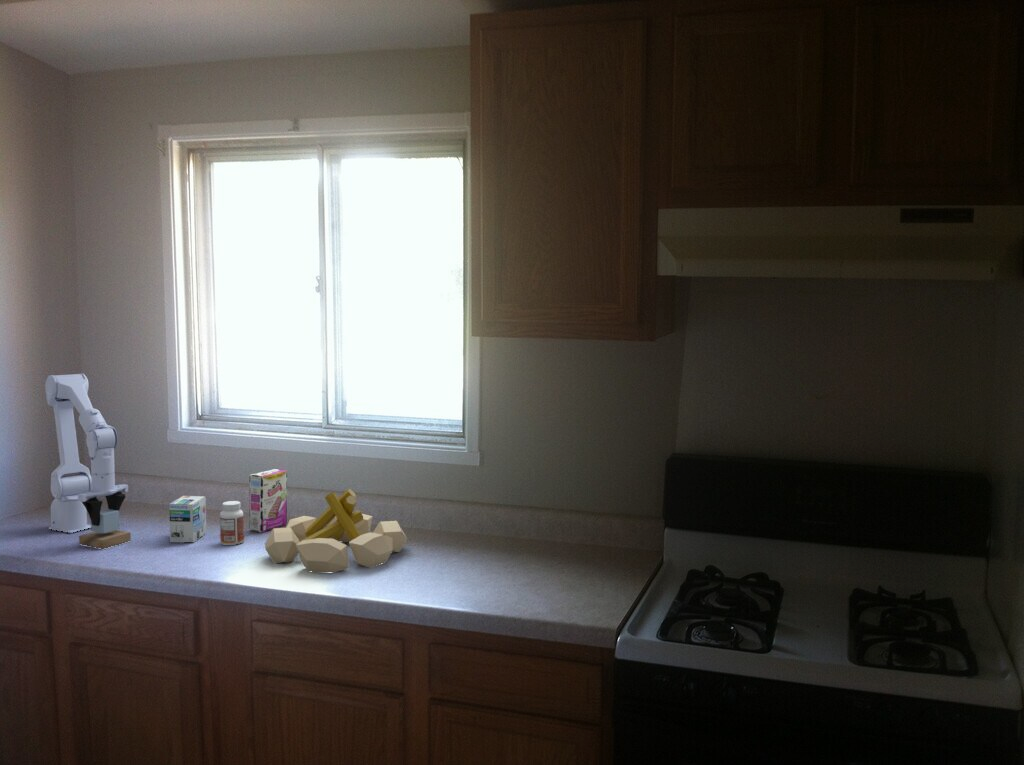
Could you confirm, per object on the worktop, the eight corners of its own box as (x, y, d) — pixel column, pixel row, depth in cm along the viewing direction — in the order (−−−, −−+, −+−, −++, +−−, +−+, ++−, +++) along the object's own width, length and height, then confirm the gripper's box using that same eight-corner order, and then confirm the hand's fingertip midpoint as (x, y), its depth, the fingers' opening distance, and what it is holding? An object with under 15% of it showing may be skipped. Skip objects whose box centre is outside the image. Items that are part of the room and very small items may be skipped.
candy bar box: (262, 533, 265) (261, 476, 264) (248, 531, 268) (248, 474, 266) (288, 524, 275) (287, 469, 274) (274, 522, 278) (274, 468, 276)
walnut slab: (79, 546, 251) (79, 535, 251) (107, 538, 259) (107, 528, 259) (103, 551, 247) (102, 540, 247) (130, 543, 255) (130, 532, 255)
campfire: (429, 551, 250) (430, 488, 249) (339, 584, 222) (339, 513, 221) (334, 531, 270) (333, 472, 268) (240, 559, 242) (238, 493, 240)
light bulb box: (193, 543, 255) (192, 504, 253) (169, 543, 255) (168, 503, 254) (207, 533, 265) (206, 495, 264) (183, 532, 265) (182, 495, 264)
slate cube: (91, 530, 252) (90, 512, 251) (106, 526, 256) (106, 508, 256) (104, 533, 249) (103, 514, 249) (119, 528, 254) (119, 510, 253)
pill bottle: (238, 538, 260) (238, 499, 259) (247, 543, 255) (247, 503, 254) (216, 542, 256) (216, 502, 255) (225, 547, 251) (225, 506, 250)
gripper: (90, 479, 243) (92, 530, 244) (135, 469, 256) (136, 518, 257) (71, 476, 246) (73, 527, 248) (117, 467, 259) (118, 515, 260)
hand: (104, 522), depth 253 cm, fingers closed on slate cube, 5 cm apart
